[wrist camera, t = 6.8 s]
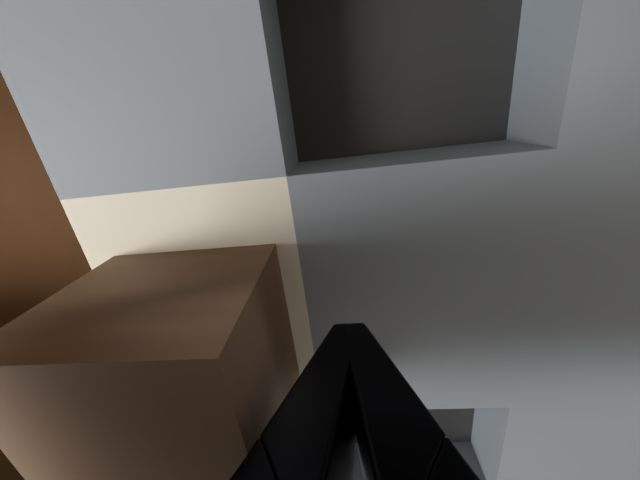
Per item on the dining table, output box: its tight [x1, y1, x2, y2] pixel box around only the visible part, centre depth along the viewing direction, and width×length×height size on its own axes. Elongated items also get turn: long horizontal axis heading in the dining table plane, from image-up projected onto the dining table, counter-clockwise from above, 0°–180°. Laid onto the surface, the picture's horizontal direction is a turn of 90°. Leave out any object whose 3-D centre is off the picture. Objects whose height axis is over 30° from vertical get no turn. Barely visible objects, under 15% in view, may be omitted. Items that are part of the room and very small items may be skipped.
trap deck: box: [0, 0, 640, 480], centre depth 10 cm, size 18×20×2 cm
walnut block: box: [0, 244, 300, 480], centre depth 7 cm, size 5×5×4 cm
